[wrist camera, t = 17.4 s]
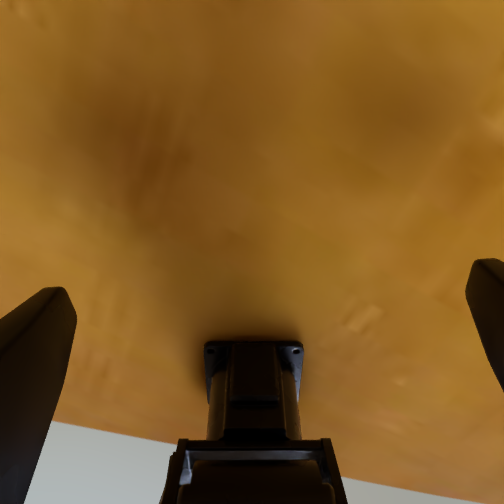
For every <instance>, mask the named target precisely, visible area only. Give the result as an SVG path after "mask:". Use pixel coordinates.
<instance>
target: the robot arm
mask: <svg viewBox="0 0 504 504" xmlns="http://www.w3.org/2000/svg"><path fill="white" fill-rule="evenodd" d="M465 294H466V299H467V302H468V305H469V308H470V311H471V314H472V316H473V319H474V322H475V325H476V328H477V331H478V333H479V336H480V339H481V342H482V345H483V348H484V350H485V353H486V356H487V358H488V360H489V363H490V365H491V367H492V369H493V371H494V373H495V375H496V377H497V379H498V381H499V383H500V385H501V388H502V390H503V392H504V262H502V261H500V260H498V259H496V258H487V259H477V260H475V261H474V263H473V265H472V268H471V271H470V275H469V278H468V282H467V285H466V290H465ZM76 325H77V315H76V311H75V309H74V307H73V305H72V302H71V300H70V298H69V295H68V293H67V291H66V290H65V289H64V288H63V287H46V288H43V289H41V290H40V291H39V292H37V293H36V294H35V295H33V296H32V297H30V298H29V299H28V300H26V301H25V302H23V303H22V304H21V305H19V306H18V307H17V308H15V309H14V310H12V311H11V312H10V313H8V314H7V315H5V316H4V317H3V318H1V319H0V504H24V501H25V498H26V495H27V492H28V489H29V486H30V483H31V480H32V477H33V474H34V471H35V468H36V465H37V462H38V459H39V456H40V453H41V451H42V447H43V445H44V442H45V439H46V436H47V433H48V430H49V427H50V423H51V421H52V418H53V415H54V412H55V409H56V406H57V403H58V400H59V397H60V394H61V391H62V387H63V384H64V380H65V376H66V372H67V367H68V362H69V358H70V353H71V348H72V343H73V339H74V334H75V329H76ZM203 352H204V364H205V375H206V387H207V399H208V404H209V415H208V427H207V439H206V440H189V439H179V440H178V445H177V449H176V452H173V455H171V456H170V460H169V467H168V473H167V479H166V484H165V488H164V491H163V494H162V496H161V499H160V502H159V504H348V503H347V498H346V495H345V491H344V487H343V483H342V480H341V476H340V472H339V468H338V465H337V461H336V457H335V454H334V450H333V446H332V442H331V439H330V438H321V439H320V440H302V437H301V428H300V418H299V409H298V397H299V388H300V380H301V371H302V363H303V355H304V349H303V344H302V343H300V342H296V341H211V342H207V343H205V345H204V351H203Z"/></svg>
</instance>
